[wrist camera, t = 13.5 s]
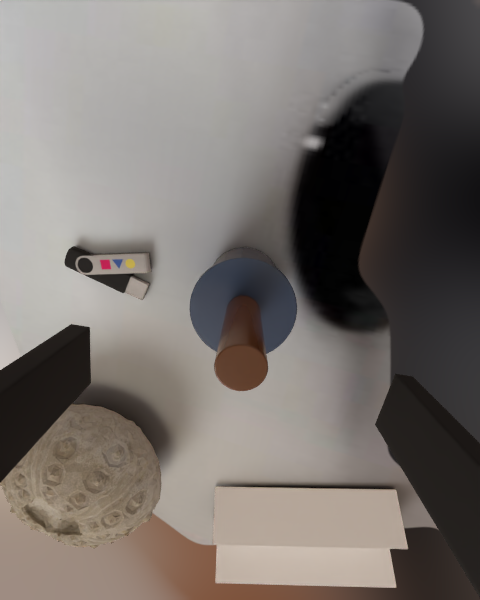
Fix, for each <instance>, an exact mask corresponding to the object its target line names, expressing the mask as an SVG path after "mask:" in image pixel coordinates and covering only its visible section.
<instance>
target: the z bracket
mask: <svg viewBox="0 0 480 600" xmlns="http://www.w3.org/2000/svg"><path fill="white" fill-rule="evenodd" d="M213 545H217V556H216V583H234V584H236V583H237V584H273V585H313V586H350V587H352V586H353V587H390V588H396V582H395V577H394V571H393V566H392V560H391V554H390V549H408V546H407V541H406V536H405V532H404V527H403V522H402V517H401V512H400V507H399V502H398V497H397V492H396V490H395V489H340V488H277V487H215V504H214V528H213Z"/></svg>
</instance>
